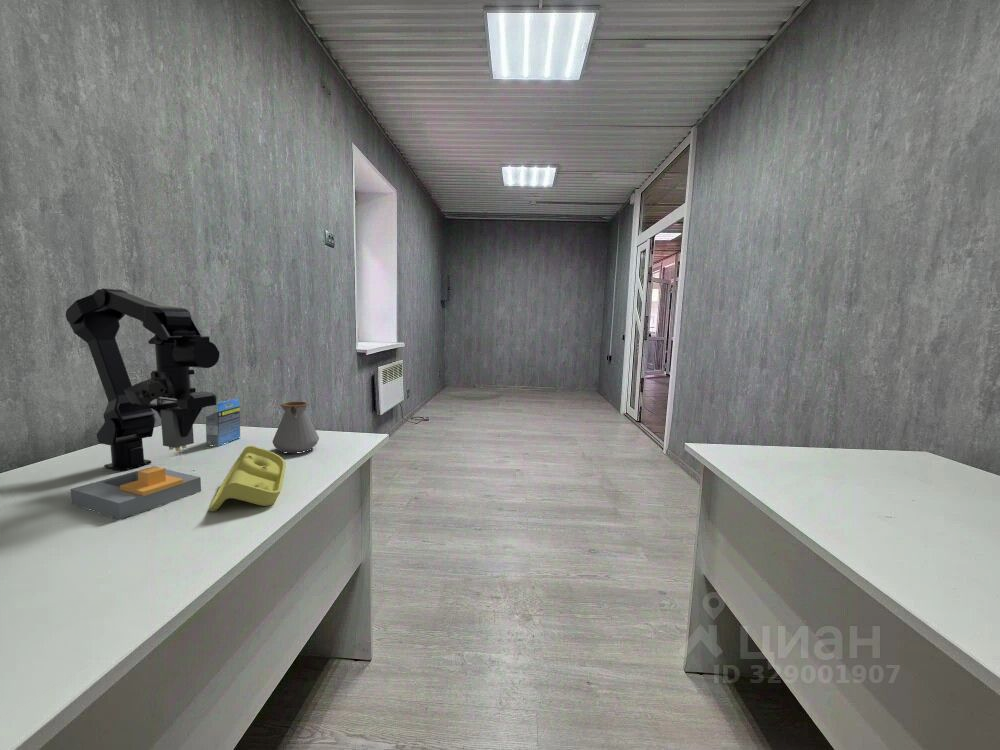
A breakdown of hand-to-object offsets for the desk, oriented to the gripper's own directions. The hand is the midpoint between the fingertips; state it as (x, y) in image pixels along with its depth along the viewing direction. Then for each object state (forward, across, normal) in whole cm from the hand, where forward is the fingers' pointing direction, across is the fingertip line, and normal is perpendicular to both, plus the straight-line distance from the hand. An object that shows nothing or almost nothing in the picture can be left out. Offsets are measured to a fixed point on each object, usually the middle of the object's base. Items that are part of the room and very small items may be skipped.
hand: (177, 435), depth 95 cm
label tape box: (+9, -16, +22) cm, 29 cm away
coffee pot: (+10, +11, +22) cm, 26 cm away
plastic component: (+10, +22, 0) cm, 24 cm away
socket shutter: (+6, +10, -11) cm, 16 cm away
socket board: (+9, +5, -11) cm, 15 cm away
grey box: (+3, 0, 0) cm, 3 cm away
